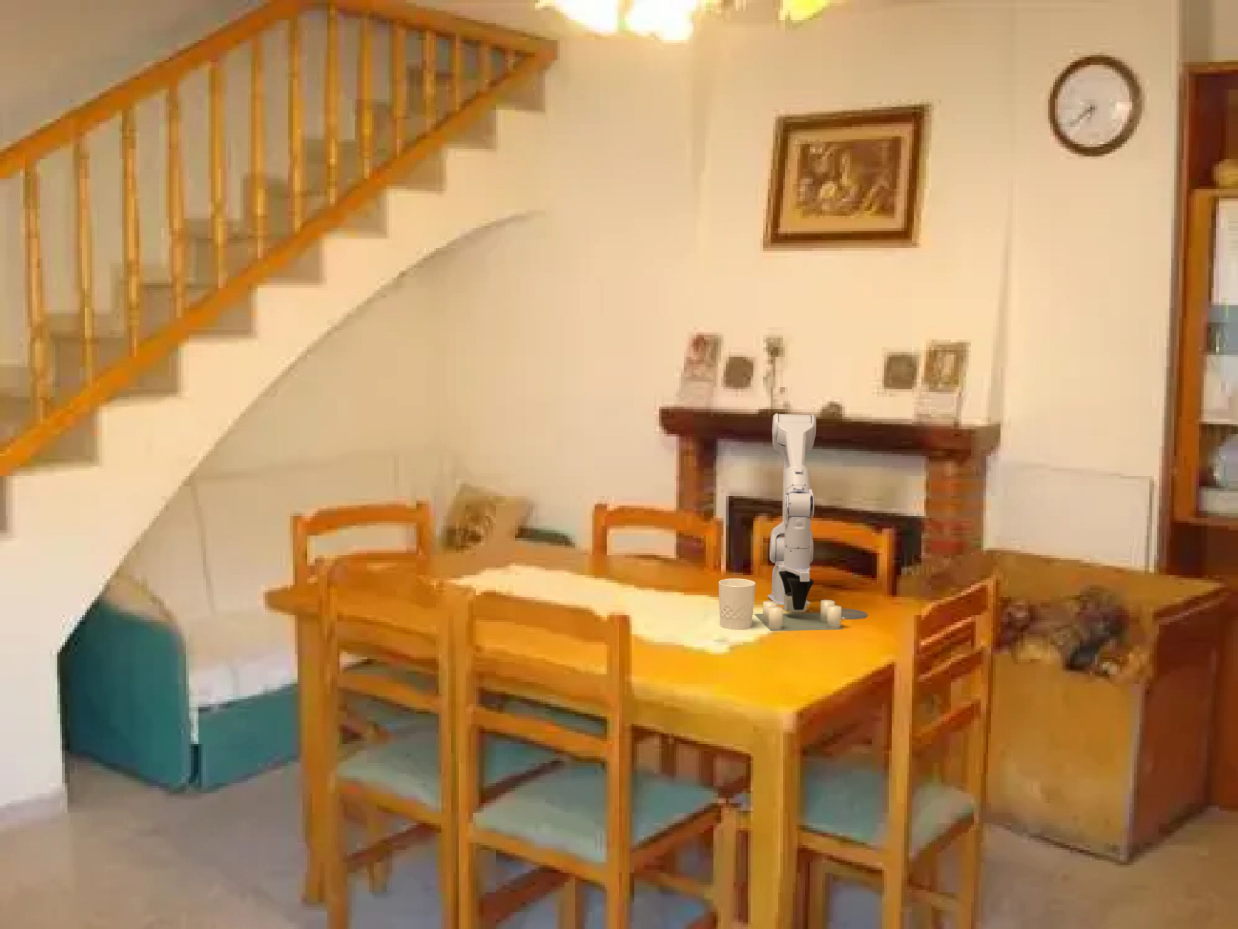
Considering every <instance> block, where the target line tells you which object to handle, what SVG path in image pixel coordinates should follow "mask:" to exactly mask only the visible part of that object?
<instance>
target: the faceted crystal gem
mask: <svg viewBox="0 0 1238 929" xmlns="http://www.w3.org/2000/svg"><path fill="white" fill-rule="evenodd" d="M807 599H808V598H807ZM807 599H806V603H805V606H804V609H803V610H794V608H793V602H792V593H791V592H790V593H784V605H783V611H784V610H785V611H786V613H787V612H788V613H805V612H807V601H808V600H807Z"/></svg>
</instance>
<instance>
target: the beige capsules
mask: <svg viewBox="0 0 1238 929" xmlns="http://www.w3.org/2000/svg"><path fill="white" fill-rule="evenodd" d="M762 602H763V603H762V614H763V623H764V624H768V628H769V629H771V630H781V629H782V624H783V613H784V607H782V606H779V605H777V602H775V601H772V600H765V601H762ZM835 603H836V602H835V600H831V599H822V600H820V612H819V613H820V622H823V623H827V628H831V629H839V628H842V619H841V609H842V606H841V605H836V604H835ZM763 623H762V624H763ZM764 624H763V625H764ZM768 628H767V629H768ZM769 629H768V630H769Z"/></svg>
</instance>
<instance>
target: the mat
mask: <svg viewBox="0 0 1238 929" xmlns="http://www.w3.org/2000/svg"><path fill="white" fill-rule="evenodd" d="M753 614H754V616H755V617H756V618H757V619H759V621H760V622H761V623H762V624H763V625H764V626H765V627H766V628H767V629H768V630H769V631H770V632H785V631H786V632H790V631H791V632H792V631H793V632H794V631H830V630H831V631H833V630H834V631H836V630H837V631H838V630H840V631H841V630H844V629H843V627H841V628H839V629H831V628H827V623H823V622H820V612H799V613H797V612H788V613H787V612H783V624H782V629H781V630H771V629H769V628H768V624H764V623H763V613H753Z"/></svg>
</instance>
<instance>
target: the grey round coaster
mask: <svg viewBox="0 0 1238 929" xmlns="http://www.w3.org/2000/svg"><path fill="white" fill-rule="evenodd" d="M867 617H868V613H867V612H865V611H863V610H859V609H854V608H853V609H852V608H841V620H861V619H865V618H867Z"/></svg>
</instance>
